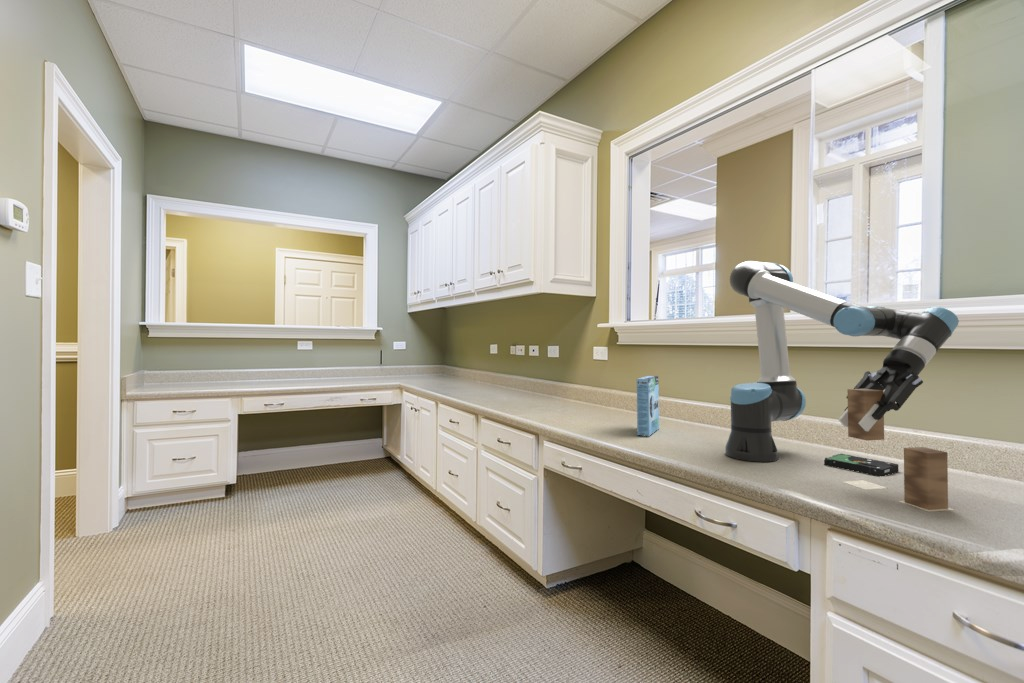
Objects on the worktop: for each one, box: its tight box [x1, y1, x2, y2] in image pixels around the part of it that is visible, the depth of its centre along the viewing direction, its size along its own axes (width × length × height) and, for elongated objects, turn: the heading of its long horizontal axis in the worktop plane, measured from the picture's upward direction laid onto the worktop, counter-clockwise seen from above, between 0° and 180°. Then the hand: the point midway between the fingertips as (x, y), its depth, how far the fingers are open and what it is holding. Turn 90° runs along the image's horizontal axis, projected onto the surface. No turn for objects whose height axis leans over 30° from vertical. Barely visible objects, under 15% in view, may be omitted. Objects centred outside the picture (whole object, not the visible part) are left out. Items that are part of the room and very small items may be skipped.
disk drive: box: [823, 453, 899, 477], centre depth 133 cm, size 10×3×15 cm
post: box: [846, 388, 885, 441], centre depth 113 cm, size 5×5×12 cm
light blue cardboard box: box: [636, 375, 660, 437], centre depth 188 cm, size 20×5×23 cm, turn 150°
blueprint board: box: [843, 479, 955, 512], centre depth 107 cm, size 23×18×1 cm
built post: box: [903, 446, 949, 510], centre depth 99 cm, size 5×5×12 cm
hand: (852, 425), depth 112 cm, fingers closed on post, 5 cm apart
